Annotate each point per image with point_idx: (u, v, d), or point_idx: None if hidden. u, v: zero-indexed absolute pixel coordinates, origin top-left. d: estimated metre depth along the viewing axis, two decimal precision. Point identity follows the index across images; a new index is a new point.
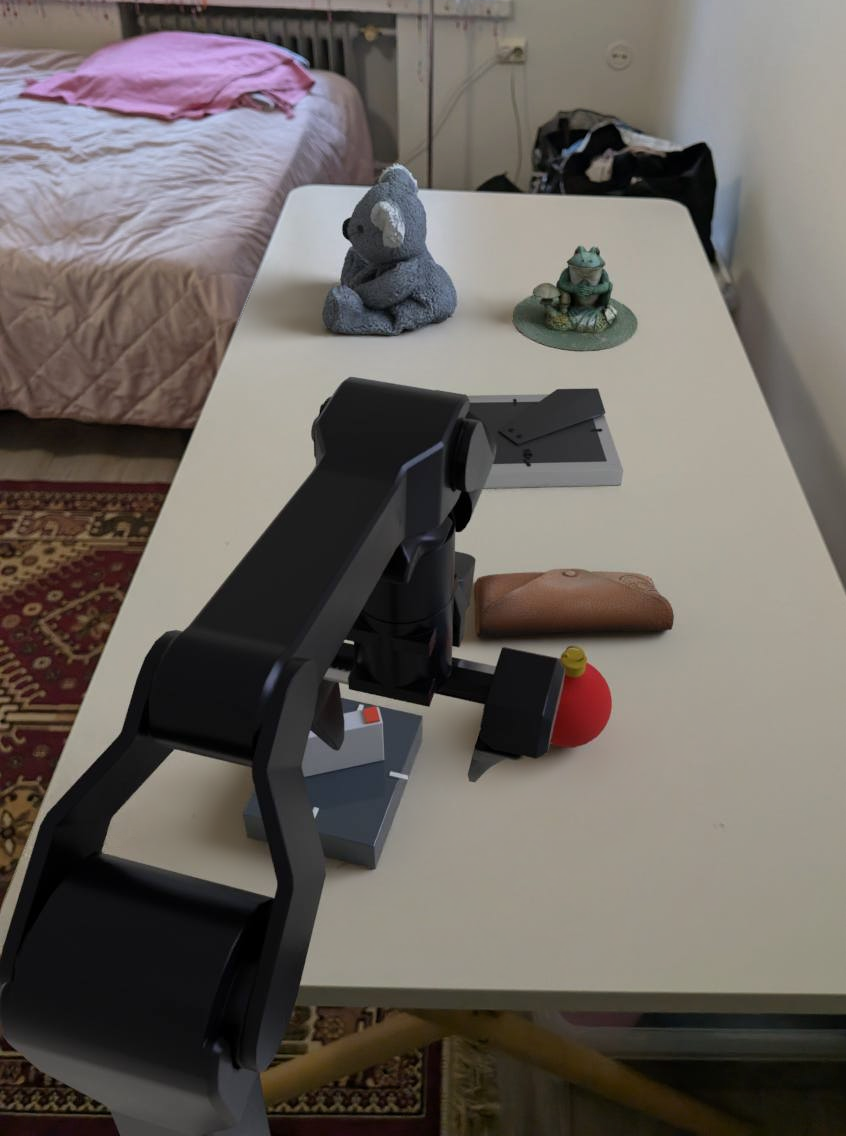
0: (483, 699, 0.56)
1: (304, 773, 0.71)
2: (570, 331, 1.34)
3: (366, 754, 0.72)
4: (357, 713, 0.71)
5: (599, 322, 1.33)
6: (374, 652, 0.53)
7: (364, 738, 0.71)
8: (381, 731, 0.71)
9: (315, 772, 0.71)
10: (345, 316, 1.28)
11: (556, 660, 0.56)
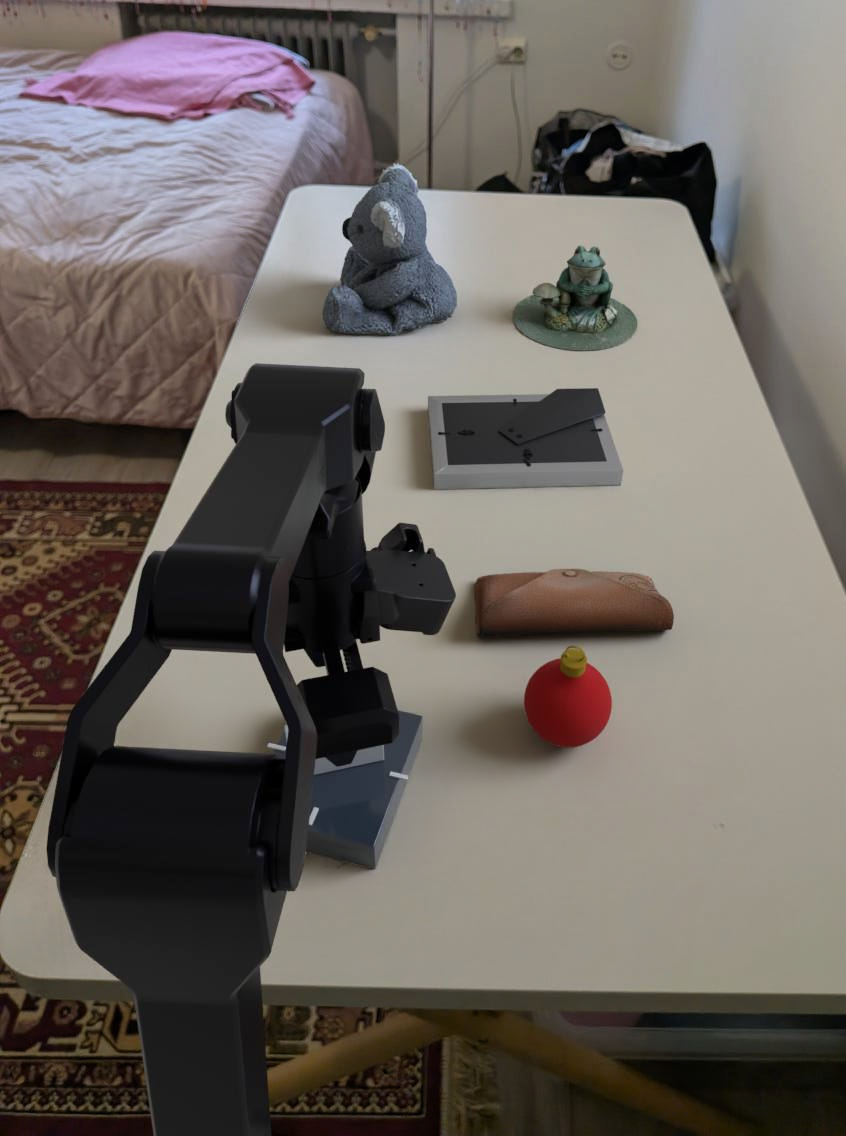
0: None
1: None
2: (570, 331, 1.34)
3: (366, 754, 0.72)
4: None
5: (599, 322, 1.33)
6: None
7: None
8: None
9: (315, 772, 0.71)
10: (345, 316, 1.28)
11: (381, 708, 0.57)
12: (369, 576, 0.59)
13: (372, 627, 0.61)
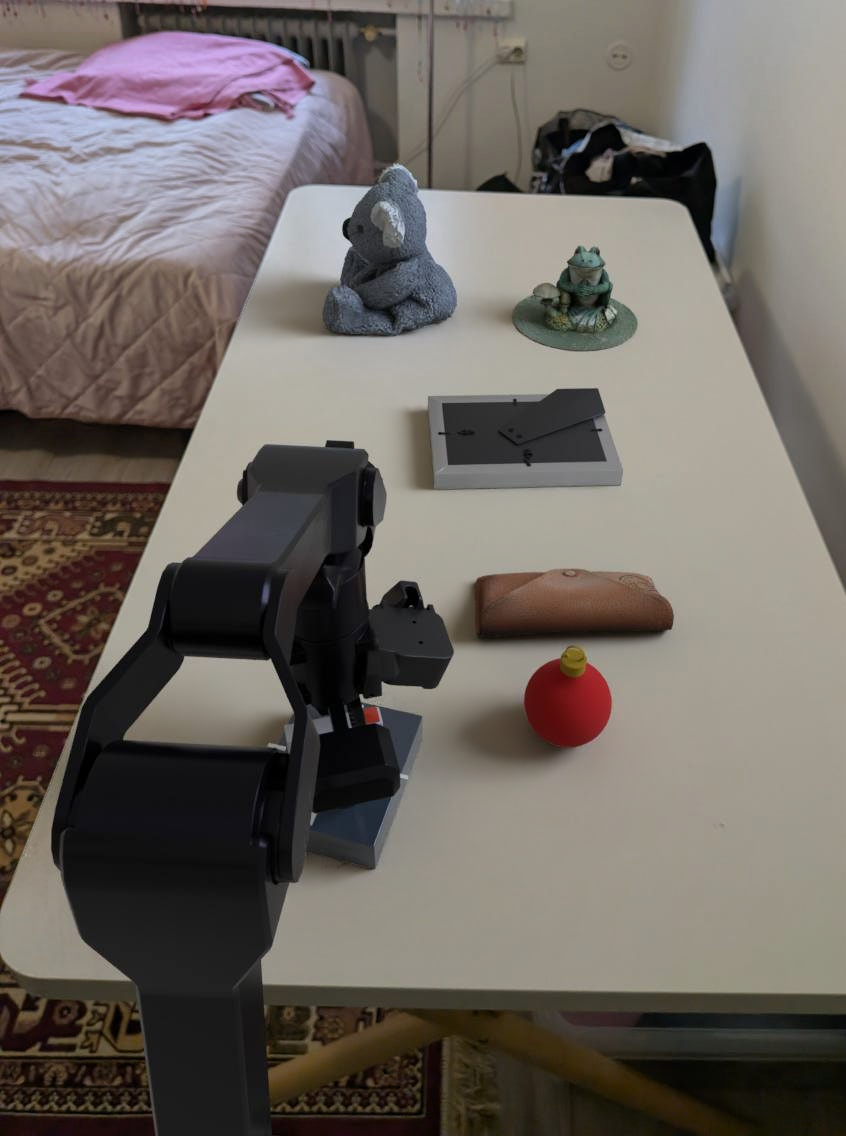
0: None
1: None
2: (570, 331, 1.34)
3: None
4: None
5: (599, 322, 1.33)
6: None
7: None
8: None
9: None
10: (345, 316, 1.28)
11: (383, 764, 0.60)
12: (372, 637, 0.62)
13: (374, 684, 0.64)
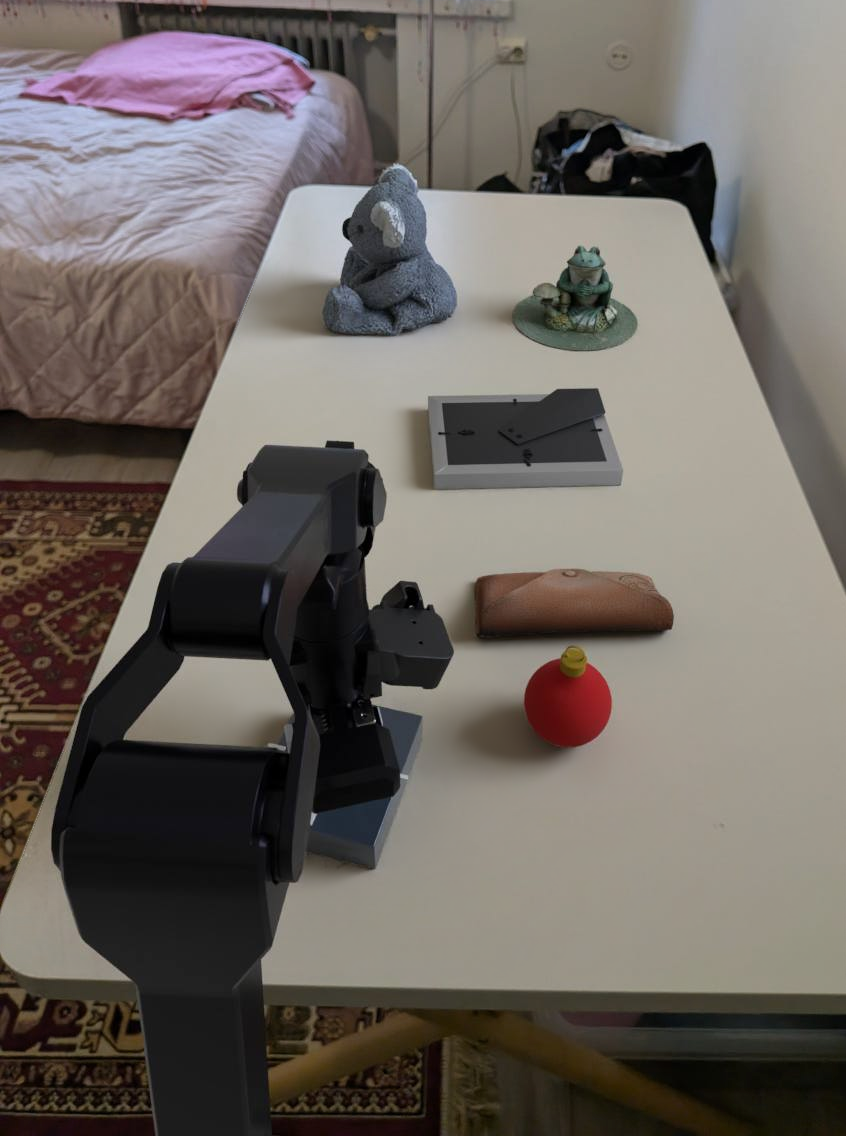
0: None
1: None
2: (570, 331, 1.34)
3: None
4: None
5: (599, 322, 1.33)
6: None
7: None
8: None
9: None
10: (345, 316, 1.28)
11: (383, 765, 0.60)
12: (372, 638, 0.62)
13: (374, 684, 0.64)
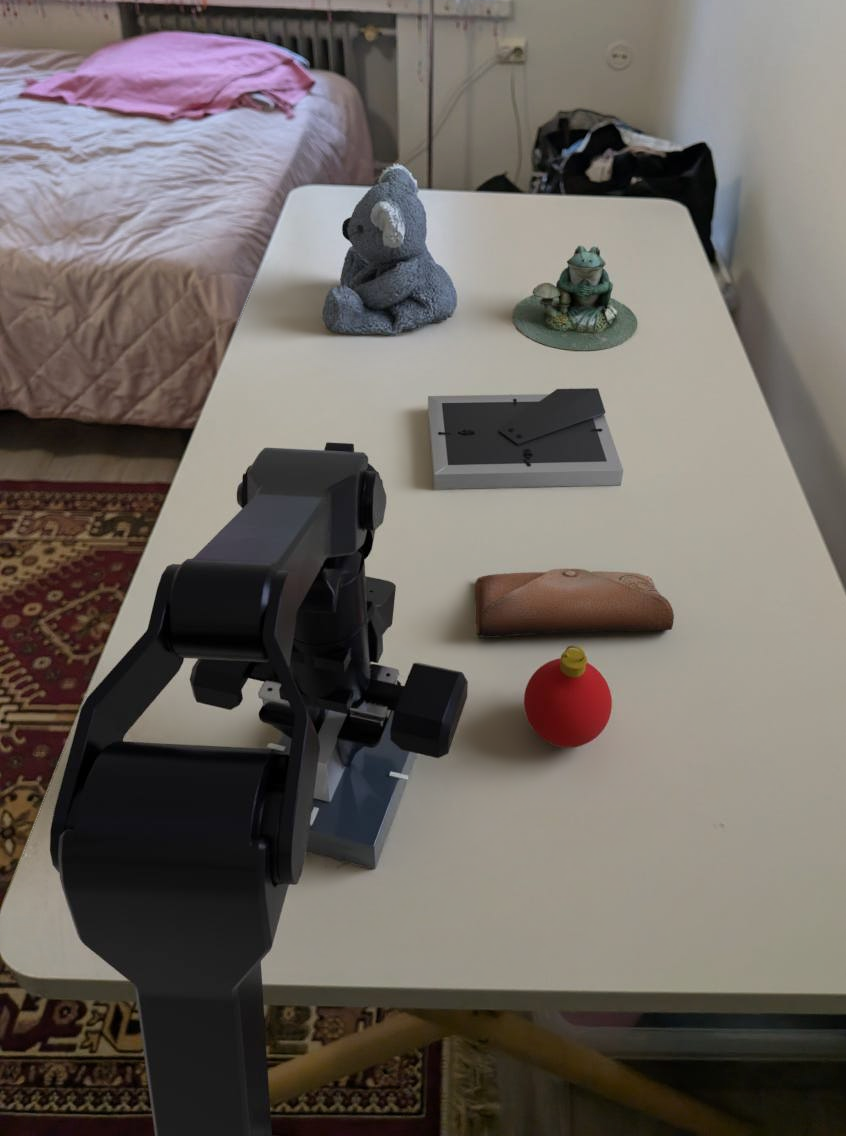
0: None
1: (334, 787, 0.70)
2: (571, 331, 1.34)
3: None
4: None
5: (599, 322, 1.33)
6: (299, 668, 0.62)
7: None
8: None
9: (338, 779, 0.71)
10: (345, 316, 1.28)
11: (458, 674, 0.66)
12: (369, 602, 0.65)
13: (380, 642, 0.67)
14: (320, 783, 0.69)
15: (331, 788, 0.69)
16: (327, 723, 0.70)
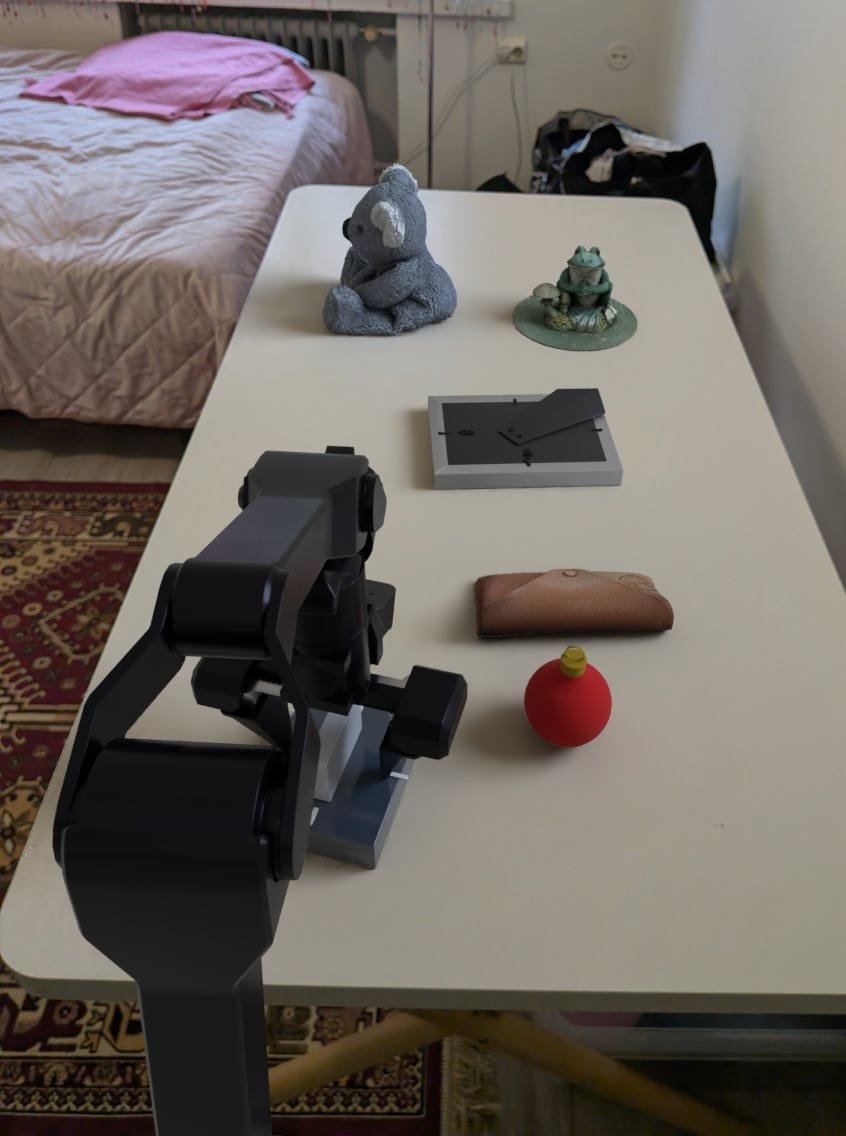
0: None
1: (334, 787, 0.70)
2: (571, 331, 1.34)
3: (356, 732, 0.73)
4: None
5: (599, 322, 1.33)
6: (299, 670, 0.63)
7: (354, 716, 0.72)
8: None
9: (338, 779, 0.71)
10: (345, 316, 1.28)
11: (458, 676, 0.66)
12: (370, 604, 0.65)
13: (380, 645, 0.67)
14: (320, 783, 0.69)
15: (331, 788, 0.69)
16: (327, 723, 0.70)
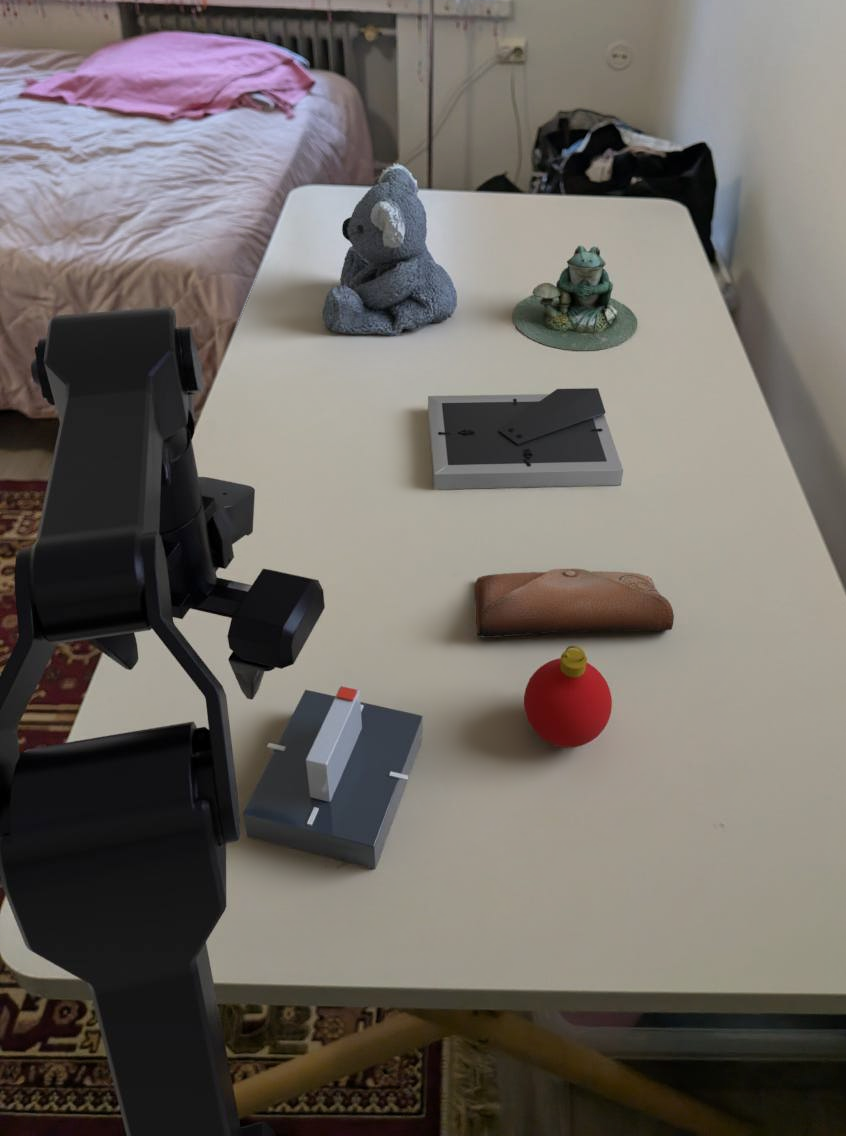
0: None
1: (334, 787, 0.70)
2: (571, 331, 1.34)
3: (356, 732, 0.73)
4: (336, 703, 0.71)
5: (599, 322, 1.33)
6: None
7: (354, 716, 0.72)
8: None
9: (338, 779, 0.71)
10: (345, 316, 1.28)
11: (311, 580, 0.60)
12: (211, 498, 0.59)
13: (228, 546, 0.61)
14: (320, 783, 0.69)
15: (331, 788, 0.69)
16: (327, 723, 0.70)
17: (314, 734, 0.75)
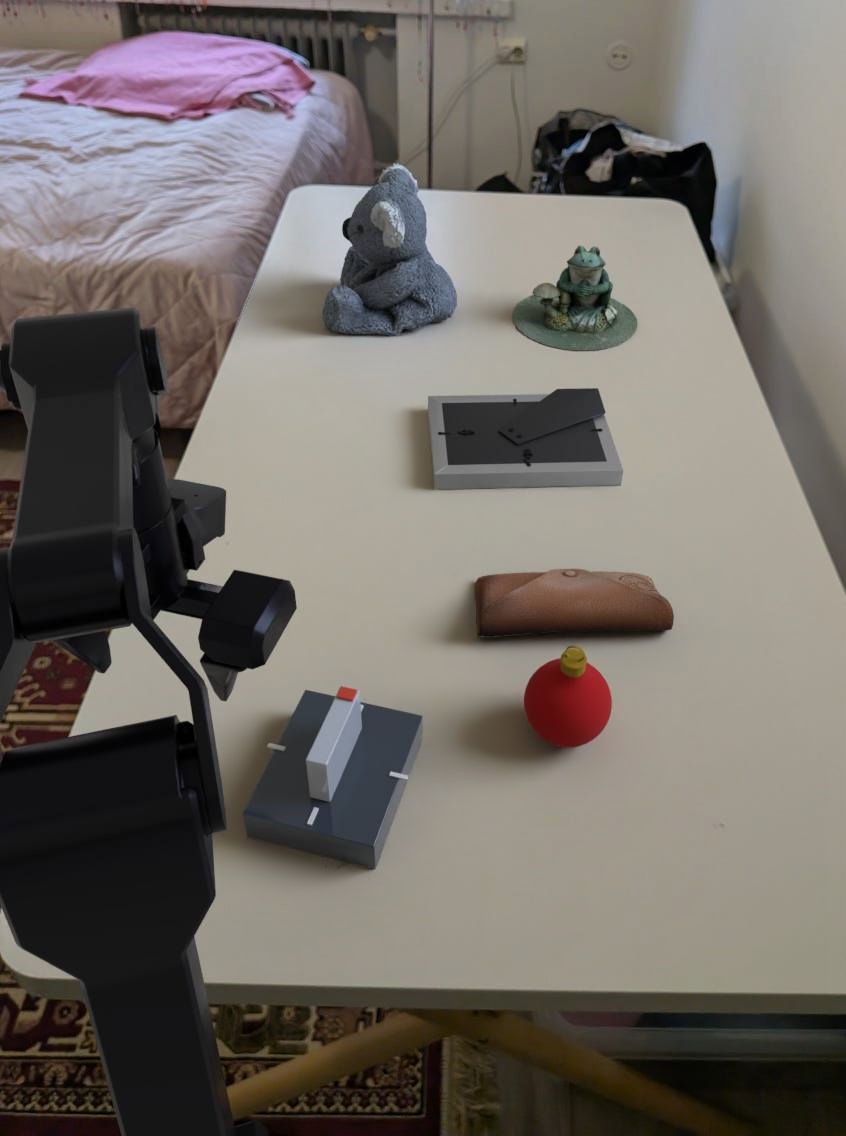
0: None
1: (334, 787, 0.70)
2: (571, 331, 1.34)
3: (356, 732, 0.73)
4: (336, 703, 0.71)
5: (599, 322, 1.33)
6: None
7: (354, 716, 0.72)
8: None
9: (338, 779, 0.71)
10: (345, 316, 1.28)
11: (282, 581, 0.61)
12: (180, 499, 0.59)
13: (199, 548, 0.61)
14: (320, 783, 0.69)
15: (331, 788, 0.69)
16: (327, 723, 0.70)
17: (314, 734, 0.75)
